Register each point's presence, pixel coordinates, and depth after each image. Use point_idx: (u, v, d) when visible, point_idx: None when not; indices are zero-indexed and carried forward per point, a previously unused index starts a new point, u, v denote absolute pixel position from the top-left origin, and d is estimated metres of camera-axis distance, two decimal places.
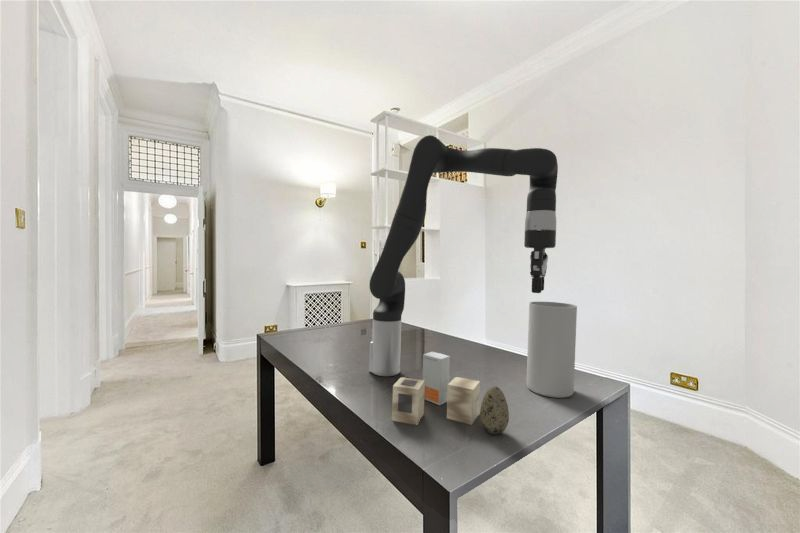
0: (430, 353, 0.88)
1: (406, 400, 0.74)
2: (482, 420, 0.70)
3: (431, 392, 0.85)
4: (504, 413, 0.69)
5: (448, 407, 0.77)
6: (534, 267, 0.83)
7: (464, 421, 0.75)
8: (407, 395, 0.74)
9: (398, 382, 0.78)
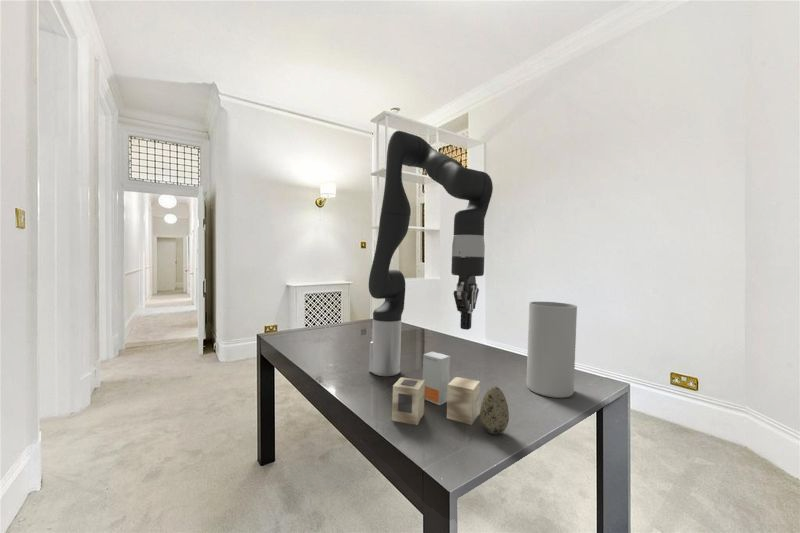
0: (430, 353, 0.88)
1: (406, 400, 0.74)
2: (482, 420, 0.70)
3: (431, 392, 0.85)
4: (504, 413, 0.69)
5: (448, 407, 0.77)
6: None
7: (465, 421, 0.75)
8: (407, 395, 0.74)
9: (398, 382, 0.78)
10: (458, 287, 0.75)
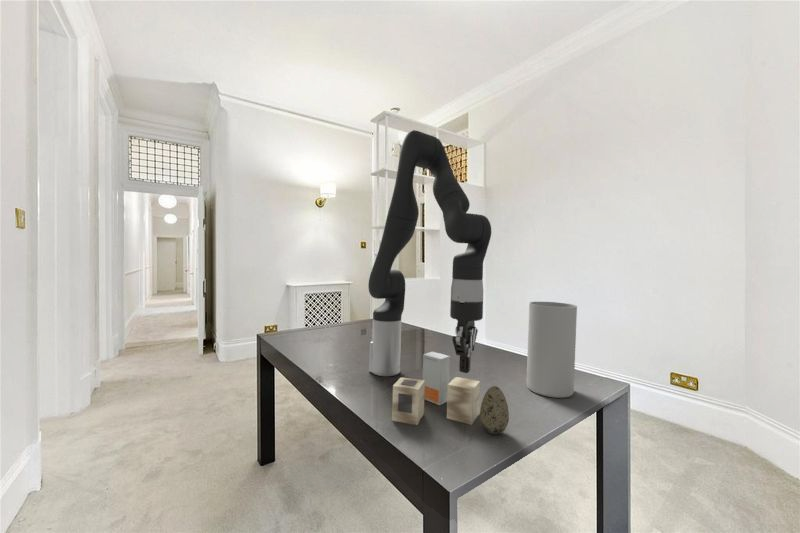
0: (430, 353, 0.88)
1: (406, 400, 0.74)
2: (482, 420, 0.70)
3: (431, 392, 0.85)
4: (504, 413, 0.69)
5: (448, 407, 0.77)
6: None
7: (465, 421, 0.75)
8: (407, 395, 0.74)
9: (398, 382, 0.78)
10: (457, 332, 0.75)
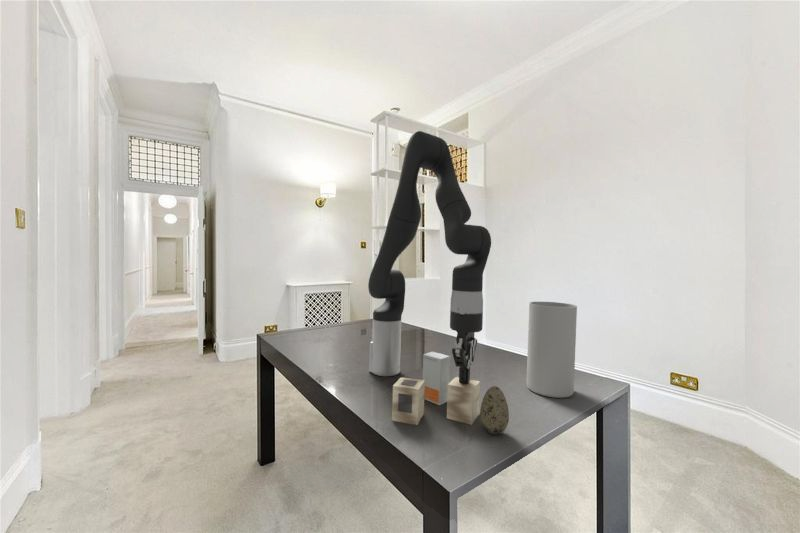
0: (430, 353, 0.88)
1: (406, 400, 0.74)
2: (482, 420, 0.70)
3: (431, 392, 0.85)
4: (504, 413, 0.69)
5: (448, 407, 0.77)
6: None
7: (465, 421, 0.75)
8: (407, 395, 0.74)
9: (398, 382, 0.78)
10: (456, 343, 0.75)
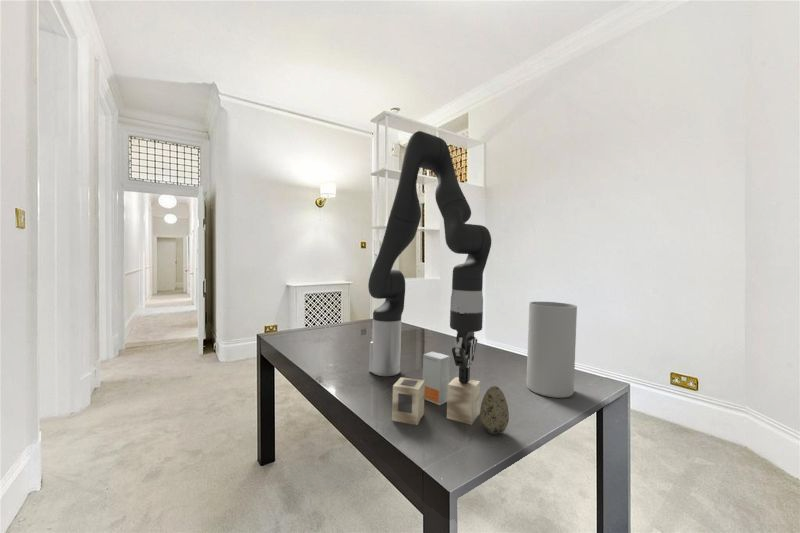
0: (430, 353, 0.88)
1: (406, 400, 0.74)
2: (482, 420, 0.70)
3: (431, 392, 0.85)
4: (504, 413, 0.69)
5: (448, 407, 0.77)
6: None
7: (465, 421, 0.75)
8: (407, 395, 0.74)
9: (398, 382, 0.78)
10: (456, 343, 0.75)
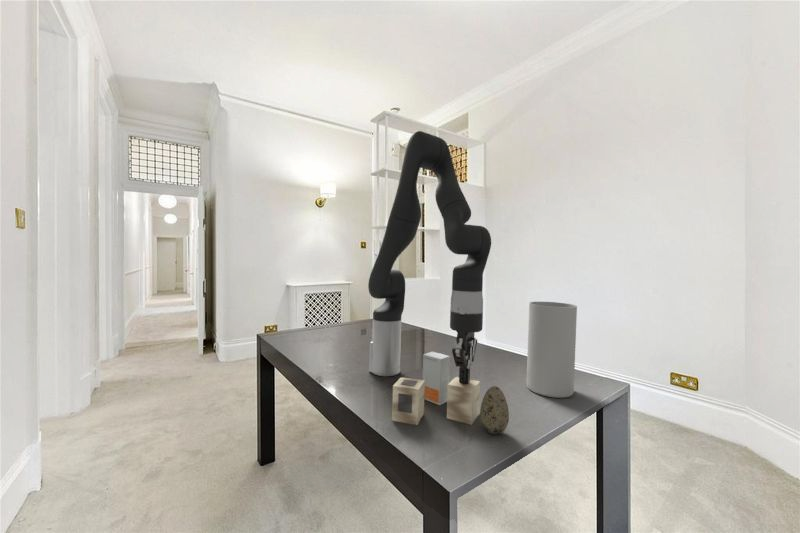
0: (430, 353, 0.88)
1: (406, 400, 0.74)
2: (482, 420, 0.70)
3: (431, 392, 0.85)
4: (504, 413, 0.69)
5: (448, 407, 0.77)
6: None
7: (464, 421, 0.75)
8: (407, 395, 0.74)
9: (398, 382, 0.78)
10: (457, 343, 0.75)
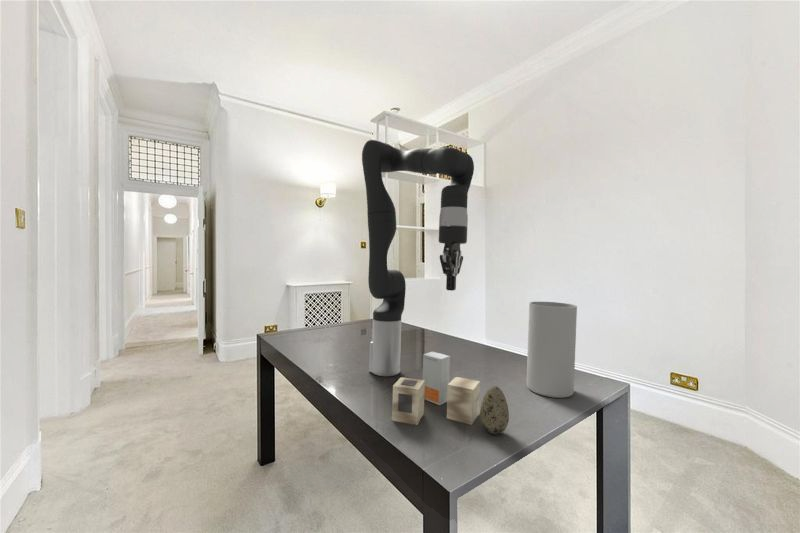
0: (430, 353, 0.88)
1: (406, 400, 0.74)
2: (482, 420, 0.70)
3: (431, 392, 0.85)
4: (504, 413, 0.69)
5: (448, 407, 0.77)
6: None
7: (464, 421, 0.75)
8: (407, 395, 0.74)
9: (398, 382, 0.78)
10: (444, 252, 0.86)
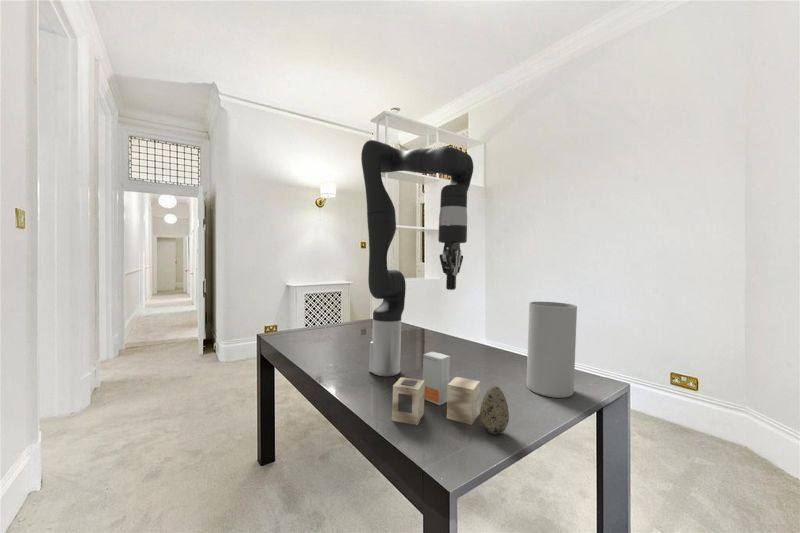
0: (430, 353, 0.88)
1: (406, 400, 0.74)
2: (482, 420, 0.70)
3: (431, 392, 0.85)
4: (504, 413, 0.69)
5: (448, 407, 0.77)
6: None
7: (464, 421, 0.75)
8: (407, 395, 0.74)
9: (398, 382, 0.78)
10: (444, 252, 0.86)
